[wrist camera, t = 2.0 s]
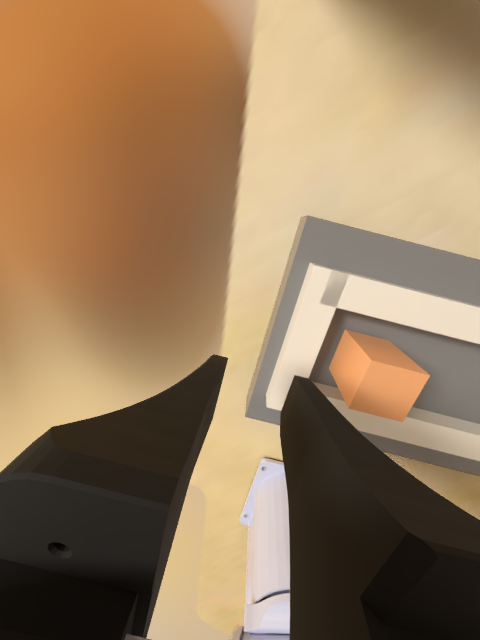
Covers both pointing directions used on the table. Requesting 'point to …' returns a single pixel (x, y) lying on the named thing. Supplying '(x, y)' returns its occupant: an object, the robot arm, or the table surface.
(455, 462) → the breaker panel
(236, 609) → the table surface
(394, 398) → the breaker lever
